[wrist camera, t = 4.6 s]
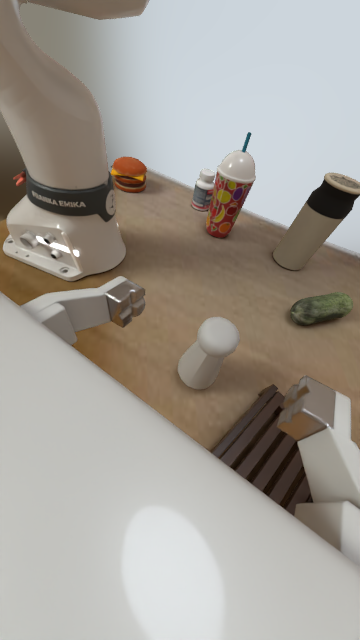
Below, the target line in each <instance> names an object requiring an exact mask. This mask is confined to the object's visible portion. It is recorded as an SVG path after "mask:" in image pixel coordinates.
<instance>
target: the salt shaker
mask: <svg viewBox="0 0 360 640" xmlns="http://www.w3.org/2000/svg"><path fill="white" fill-rule="evenodd" d="M239 341H240V338H239V332H238V330H237V328H236V326H235V325H234V324H233V323H231V322H230V321H229V320H227V319H224V318H222V317H211V318H209V319H207V320H205V321H204V322H203V324H202V325H201V327H200V328H199V330H198V336H197V341H196V342H195V343H194V344H193V345H192V346H191V347H190V348H189V349H188V350H187V351H186V352H185V353H184V354H183V355H182V357H181V358H180V360H179V364H178V373H179V375H180V378H181V380H182V381H183V382H184V383H185V384H186V385H187V386H188V387H191V388H194V389H206V388H207V387H209V386H210V385H212V384H213V383H214V381H215V379H216V378H217V376H218V373H219V370H220V368H221V365H222V362H223V359H224V357H227V356H228V355H230V354H231V353H233V352H234V351H235V349H236V347H237V345H238V343H239Z"/></svg>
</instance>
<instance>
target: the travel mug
mask: <svg viewBox="0 0 360 640" xmlns="http://www.w3.org/2000/svg"><path fill="white" fill-rule="evenodd" d="M359 196H360V182H358V181H356V180H354V179H352V178H350V177H347V176H345V175H341V174H338V173H327V174H326V175H325V176H324V181H323V183H322V185H321V186H320V187H319V188H317V189H316V190H315V191H313V192H312V194H311V195H310V197H309V198H308V200H307V201H306V203H305V204H304V206H303V207H302V209H301V211H300V212H299V214H298V215H297V217H296V218H295V220H294V221H293V223H292V224H291V226H290V227H289V229H288V231H287V232H286V234H285V235H284V237H283V238H282V240H281V241H280V243H279V244H278V246H277V248H276V249H275V251H274V252H273V257H274V259H275V261H276V262H277V263H278V264H280V265H281V266H283V267H285V268H287V269H291V270H299V269H301V268H302V267H303V266H304V265H305V264H306V263H307V261H308V260H309V259H310V258H311V257H312V256H313V254H314V253H315V252H316V251H317V250H318V248H319V247H320V246H321V245H322V244H323V243H324V241H325V240H326V239H327V238H328V237H329V236H330V234H331V233H332V232H333V231H334V230H335V229H336V227H337V226H338V225H339V224H340V223H341V221H342V220H343V219H344V218H345V217H346V216H347V215H348V213H349V212H350V211H351V210H352V207H353V204H354V201H355V200H356V199H357V198H358V197H359Z"/></svg>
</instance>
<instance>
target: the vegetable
mask: <svg viewBox="0 0 360 640" xmlns="http://www.w3.org/2000/svg"><path fill="white" fill-rule="evenodd" d="M352 308H353V301H352V299H351V298H350V297H349V296H348V295H347V294H344V293H341V292H335V293H331V294H327V295H321V296H315V297H309V298H305V299H301V300H299V301H297V302H296V303H295V304H294V305H293V306H292V308H291V318H292V320H293V321H294V322H296V323H297V324H300V325H308V324H313V323H317V322H321V321H325V320H330V319H336V318H342V317H344V316H346V315H347V314H348V313H349V312H350V311H351V310H352Z"/></svg>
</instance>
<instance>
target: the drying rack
mask: <svg viewBox="0 0 360 640" xmlns="http://www.w3.org/2000/svg"><path fill="white" fill-rule="evenodd" d="M277 389H278V388H277V387H276V386H275V385H274V384H273V385H271V386H269V387H267V388H265V389H264V390H262V391H261V392H260V393H259V396H260V398H259V399H258V400H257V401H256V402H255V403H254V404H253V406H252V407H251V408H250V409H249V410H248V411H247V412H246V413H245V414H244V416H243V417H242V418H241V419H240V420H239V421H238V422H237V423H236V424H235V426H234V427H233V428H232V429H231V430H230V431H229V432H228V433H227V434H226V436H225V437H224V438H223V439H222V440H221V441H220V442H219V443H218V444H217V445H216V447H215V448H214V449H213V450H212V451H211V453H212V454H213V455H214V456H216V457H217V458H219V457H220V455H221V454H222V453H223V452H224V451H225V450H226V448H227V447H228V446H229V445H230V444H231V443H232V441H233V440H234V439H235V438H236V437H237V436H238V435H239V433H240V432H241V431H242V430H243V429H244V428H245V426H246V425H247V424H248V423H249V422H250V421H251V419H252V418H253V417H254V416H255V415H256V414H257V413H258V411H259V410H260V409H261V408H262V407H263V406H264V404H265V403H266V405H265V406H264V407H263V408H262V409H261V411H260V412H259V413H258V414H257V415H256V416H255V418H254V419H253V420H252V421H251V422H250V423H249V424H248V426H247V427H246V428H245V429H244V430H243V431H242V433H241V434H240V435H239V436H238V437H237V438H236V440H235V441H234V442H233V443H232V444H231V445H230V447H229V448H228V449H227V450H226V451H225V452H224V454H223V455H222V456H221V457H220V458H219V459H220V460H221V461H222V462H224V463H225V464H226V465H228V466H229V467H230V466H231V464H232V463H233V462H234V461H235V460H236V458H237V457H238V456H239V455H240V453H241V452H242V451H243V450H244V448H245V447H246V446H247V445H248V443H249V442H250V441H251V440H252V439H253V437H254V436H255V435H256V434H257V432H258V431H259V430H260V429H261V427H262V426H263V425H264V424H265V422H266V421H267V420H268V419H269V418H270V416H271V415H272V414H273V413H274V412H275V413H276V414H277V415H278V416H277V417H276V418H275V419H274V421H273V422H272V423H271V424H270V426H269V427H268V428H267V430H266V431H265V432H264V433H263V435H262V436H261V437H260V438H259V440H258V441H257V442H256V443H255V445H254V446H253V447H252V449H251V450H250V451H249V452H248V454H247V455H246V456H245V457H244V459H243V460H242V461H241V463H240V464H239V465H238V466H237V468H236V469H235V470H234V471H235V472H237V473H238V474H239V475H241V476H242V477H243V478H245V479H246V478H247V476H248V475H249V473H250V472H251V471H252V469H253V468H254V467H255V465H256V464H257V463H258V461H259V460H260V459H261V457H262V456H263V455H264V453H265V452H266V450H267V449H268V448H269V446H270V445H271V444H272V442H273V441H274V440H275V438H276V437H277V436H278V434H279V433H280V432H281V430H280V429H279V428H278V427H277V424H278V420H279V416H280V413H281V412H282V411H283V410H285V408H284V405H283V401H284V398H285V397H284V396H283V395H282V394H281V393H280V392H279V391H278V392H276V391H277ZM295 441H296V440H295V439H294V438H292V437H291V436H289V435H288V434H286V433H285V434H284V436H283V437H282V439H281V440H280V441H279V443H278V444H277V446H276V447H275V448H274V450H273V451H272V453H271V454H270V455H269V457H268V458H267V460H266V461H265V462H264V464H263V465H262V466H261V468H260V469H259V471H258V472H257V473H256V475H255V476H254V478H253V479H252V480H251V482H250V483H251V484H252V485H254V486H255V487H256V488H258V489H259V490H260V491H263V489H264V488H265V486H266V485H267V483H268V482H269V480H270V479H271V477H272V476H273V474H274V473H275V471H276V470H277V468H278V467H279V465H280V464H281V462H282V461H283V459H284V458H285V456H286V455H287V453H288V452H289V450H290V449H291V447H292V446H293V444H294V443H295ZM302 466H303V462H302V458H301V454H300V450H299V447H297V449H296V450H295V452H294V453H293V455H292V456H291V458H290V459H289V461H288V462H287V464H286V466H285V467H284V469H283V470H282V472H281V473H280V475H279V476H278V478H277V479H276V481H275V482H274V484H273V485H272V487H271V489H270V490H269V492H268V493H267V496H268V497H269V498H271V499H272V500H273V501H275V502H276V503H277V504H278V505H279V504H280V502H281V501H282V499H283V497H284V496H285V494H286V492H287V491H288V489H289V487H290V486H291V484H292V482H293V481H294V479H295V477H296V476H297V474H298V472H299V471H300V469H301V467H302ZM300 503H314V502H313V499H312V495H311V491H310V487H309V484H308V480H307V476H306V473H305V472H304V473H303V475H302V477H301V479H300V480H299V482H298V484H297V485H296V487H295V489H294V490H293V492H292V494H291V496H290V497H289V499H288V501H287V502H286V504H285V506H284V509H285V510H286V511H288V512H289V513H290V514H292V515H293V516H294V514H295V508H296V504H300Z"/></svg>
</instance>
